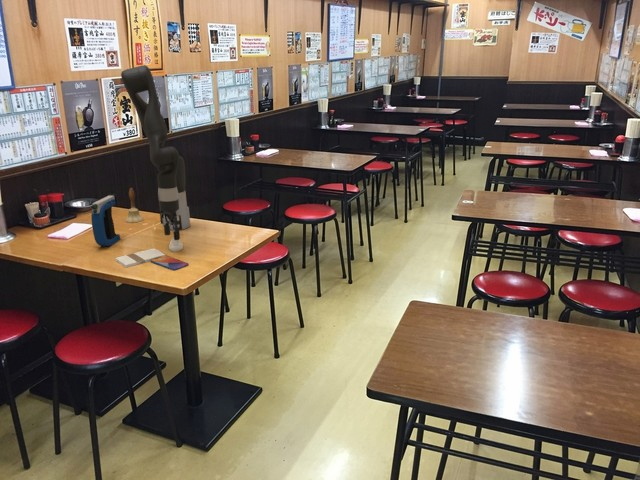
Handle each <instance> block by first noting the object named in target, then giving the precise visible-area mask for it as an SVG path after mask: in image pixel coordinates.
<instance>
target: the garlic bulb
mask: <svg viewBox="0 0 640 480" xmlns="http://www.w3.org/2000/svg"><path fill="white" fill-rule="evenodd" d="M168 245H169V246H168V249H169V250H170V251H171V252H179V251H182V250H183V248H184V246H183V243H182V241H181V239H179V240H174V235H173V236H172V238H171V239H170V242H169V244H168Z"/></svg>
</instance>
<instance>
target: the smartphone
mask: <svg viewBox="0 0 640 480" xmlns="http://www.w3.org/2000/svg"><path fill="white" fill-rule="evenodd" d="M150 263H151V264H154V265H155V266H156V265H157V266H159V267H162V268H164V269H168V270H170V271H178V270H181V269H183V268H186V267H189V262H185V261H182V260H180V259H177V258H174V257H172V256H169V255H166V254H165V256H161V257H158V258H154V259H151V261H150Z"/></svg>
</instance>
